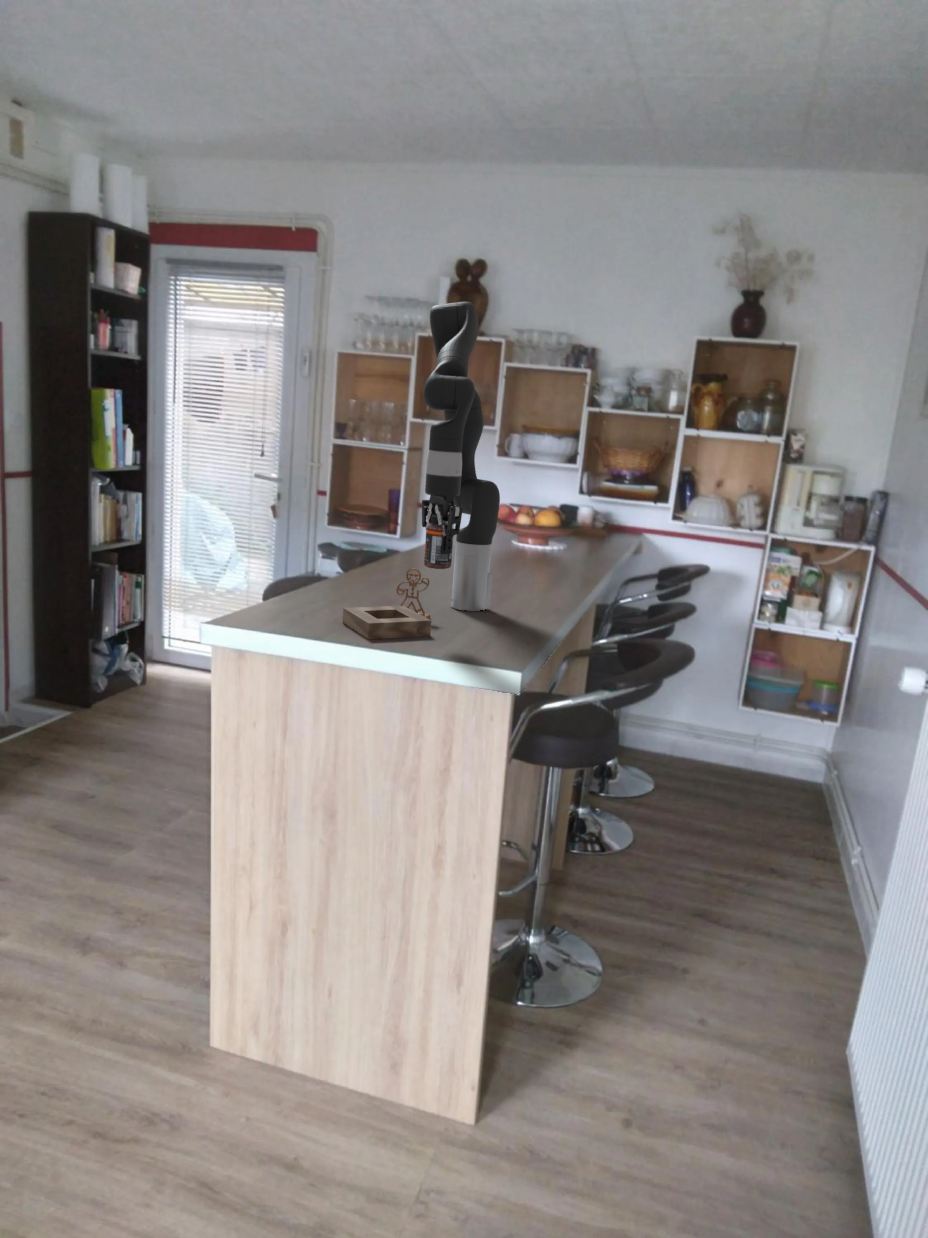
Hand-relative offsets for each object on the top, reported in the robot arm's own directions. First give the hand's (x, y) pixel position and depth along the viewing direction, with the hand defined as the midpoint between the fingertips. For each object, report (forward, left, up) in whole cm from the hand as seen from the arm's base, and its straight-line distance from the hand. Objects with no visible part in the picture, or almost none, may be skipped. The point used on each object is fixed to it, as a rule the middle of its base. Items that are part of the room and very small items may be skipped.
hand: (438, 550), depth 187 cm
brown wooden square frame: (+8, -8, -19) cm, 22 cm away
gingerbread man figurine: (-3, -18, -20) cm, 27 cm away
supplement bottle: (0, 0, -4) cm, 4 cm away
